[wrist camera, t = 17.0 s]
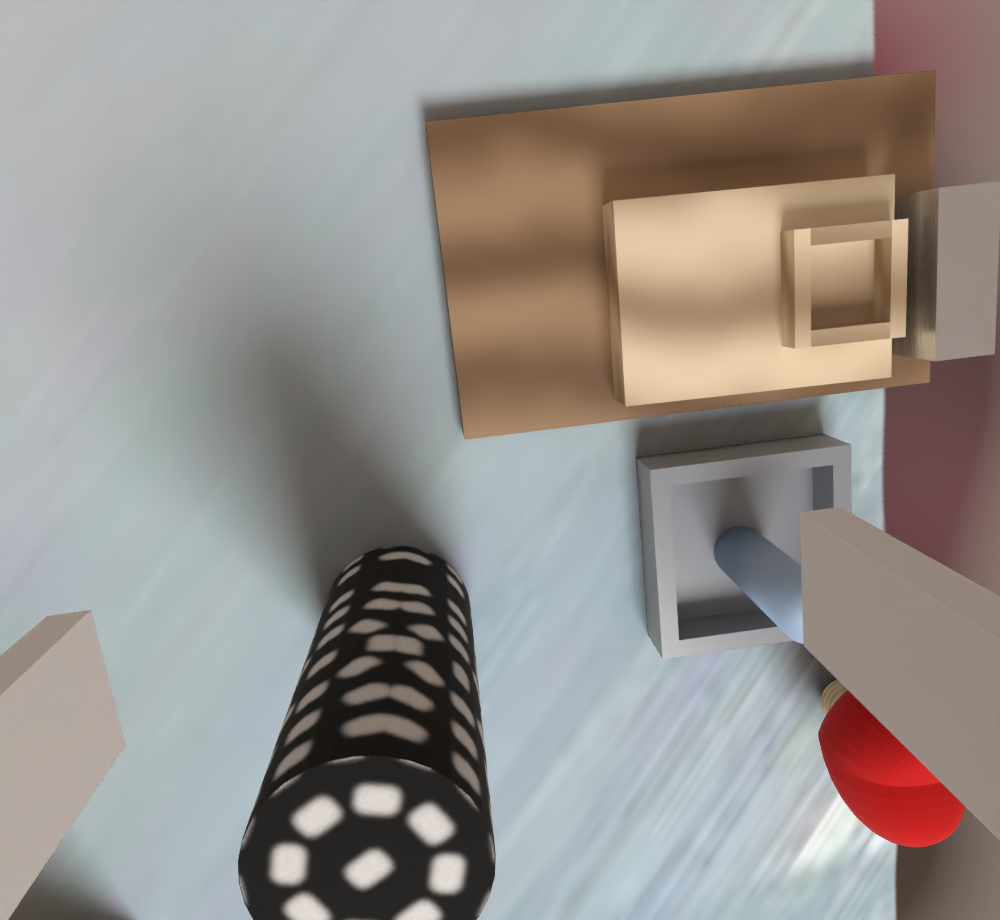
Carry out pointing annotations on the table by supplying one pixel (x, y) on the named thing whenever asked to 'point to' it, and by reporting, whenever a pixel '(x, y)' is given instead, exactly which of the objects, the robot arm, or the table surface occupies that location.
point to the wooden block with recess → (754, 288)
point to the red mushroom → (882, 775)
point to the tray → (715, 509)
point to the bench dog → (950, 271)
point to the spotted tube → (378, 759)
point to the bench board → (619, 176)
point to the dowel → (764, 576)
